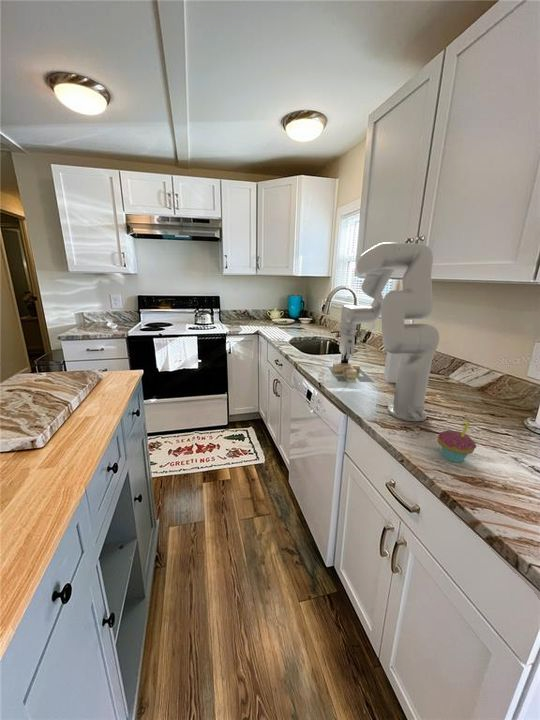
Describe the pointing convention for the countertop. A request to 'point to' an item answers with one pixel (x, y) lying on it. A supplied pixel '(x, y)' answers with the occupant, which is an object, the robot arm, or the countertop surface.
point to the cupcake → (456, 444)
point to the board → (359, 378)
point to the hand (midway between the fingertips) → (343, 367)
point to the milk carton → (392, 367)
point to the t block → (347, 370)
